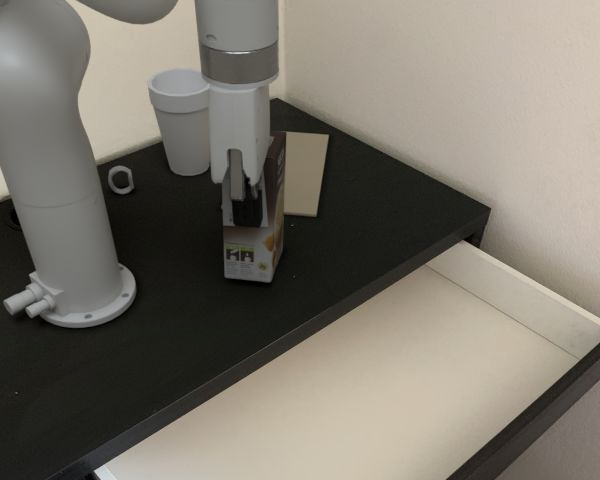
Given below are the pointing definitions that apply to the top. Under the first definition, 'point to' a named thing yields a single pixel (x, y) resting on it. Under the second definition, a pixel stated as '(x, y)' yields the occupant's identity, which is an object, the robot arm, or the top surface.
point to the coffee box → (269, 236)
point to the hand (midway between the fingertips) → (248, 222)
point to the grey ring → (130, 178)
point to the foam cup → (182, 118)
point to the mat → (303, 172)
